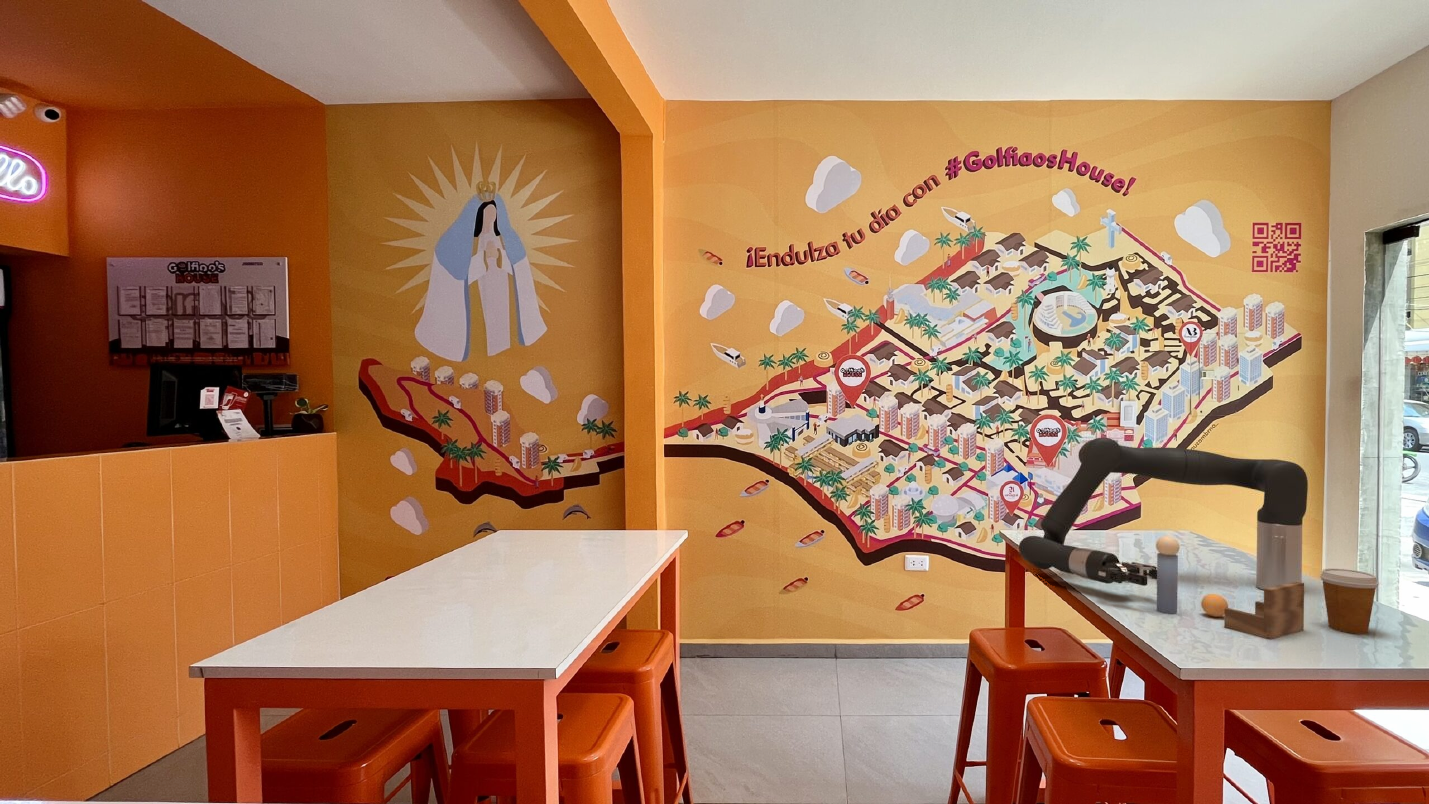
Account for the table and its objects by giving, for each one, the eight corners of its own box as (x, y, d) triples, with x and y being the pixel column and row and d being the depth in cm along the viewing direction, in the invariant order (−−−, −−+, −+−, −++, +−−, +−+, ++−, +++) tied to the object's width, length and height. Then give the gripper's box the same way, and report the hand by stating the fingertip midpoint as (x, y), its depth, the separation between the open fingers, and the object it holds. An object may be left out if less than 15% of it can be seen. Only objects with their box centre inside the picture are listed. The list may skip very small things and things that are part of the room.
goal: (1257, 619, 162) (1258, 574, 162) (1303, 630, 154) (1304, 583, 154) (1224, 627, 156) (1224, 580, 156) (1270, 639, 148) (1270, 590, 148)
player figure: (1162, 607, 170) (1163, 533, 170) (1183, 612, 166) (1184, 537, 166) (1150, 610, 168) (1151, 535, 168) (1171, 615, 164) (1171, 538, 164)
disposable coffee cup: (1354, 623, 159) (1355, 568, 159) (1390, 637, 150) (1391, 579, 150) (1307, 621, 160) (1308, 567, 160) (1340, 635, 151) (1341, 577, 150)
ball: (1209, 611, 167) (1209, 590, 167) (1232, 617, 162) (1233, 595, 162) (1196, 614, 165) (1196, 592, 165) (1220, 620, 160) (1220, 598, 160)
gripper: (1075, 552, 180) (1139, 566, 166) (1111, 547, 187) (1176, 560, 172) (1074, 582, 180) (1138, 599, 166) (1111, 576, 187) (1176, 591, 172)
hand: (1158, 579), depth 169 cm, fingers open, 8 cm apart
